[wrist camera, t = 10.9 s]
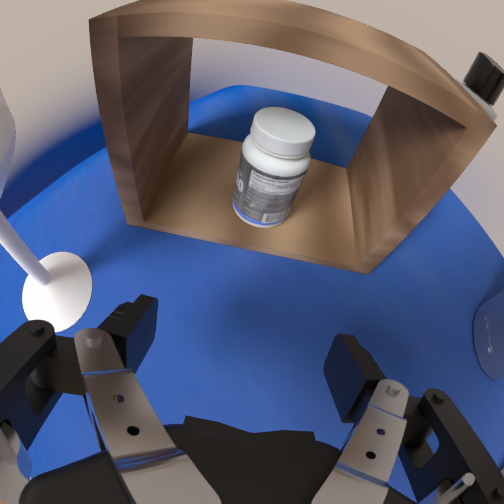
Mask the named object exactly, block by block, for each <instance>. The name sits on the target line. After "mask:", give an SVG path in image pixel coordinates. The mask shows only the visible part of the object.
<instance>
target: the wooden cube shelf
mask: <svg viewBox="0 0 504 504" xmlns="http://www.w3.org/2000/svg"><path fill="white" fill-rule="evenodd" d="M89 32H90V45H91V55H92V63H93V72H94V80H95V87H96V93H97V99H98V105H99V111H100V116H101V122H102V126H103V132H104V137H105V141H106V146H107V150H108V155H109V159H110V163H111V167H112V171H113V175H114V179H115V183H116V186H117V190H118V194H119V197H120V201H121V204H122V208H123V211H124V214H125V217H126V221H127V224H128V225H133V226H138V227H142V228H147V229H152V230H157V231H162V232H167V233H171V234H176V235H181V236H186V237H191V238H195V239H200V240H205V241H210V242H215V243H219V244H224V245H229V246H234V247H239V248H243V249H248V250H253V251H258V252H263V253H267V254H272V255H277V256H282V257H286V258H291V259H296V260H301V261H305V262H310V263H315V264H320V265H325V266H329V267H334V268H339V269H344V270H348V271H353V272H358V273H363V274H367V275H368V274H369V273H370V272H371V271H372V270H373V269H375V268H376V267H377V266H378V265H379V264H380V263H381V262H382V261H383V260H384V259H385V258H386V257H387V256H388V255H389V254H390V253H391V252H392V251H393V250H394V249H395V248H396V247H397V246H398V245H399V244H400V243H401V242H402V241H403V239H404V238H405V237H406V236H407V235H408V234H409V233H410V232H411V231H412V230H413V229H414V228H415V227H416V226H417V225H418V224H419V222H420V221H421V220H422V219H423V218H424V217H425V216H426V215H427V214H428V213H429V211H430V210H431V209H432V208H433V207H434V206H435V205H436V204H437V202H438V201H439V200H440V199H441V198H442V197H443V195H444V194H445V193H446V192H447V191H448V190H449V188H450V187H451V186H452V185H453V183H454V182H455V181H456V180H457V179H458V177H459V176H460V175H461V174H462V172H463V171H464V170H465V169H466V167H467V166H468V165H469V163H470V162H471V161H472V160H473V158H474V157H475V156H476V154H477V153H478V152H479V150H480V149H481V148H482V146H483V145H484V144H485V142H486V141H487V139H488V138H489V137H490V135H491V134H492V132H493V131H494V129H495V128H496V127H497V125H496V124H495V122H494V121H493V120H492V119H491V117H490V116H489V115H488V114H487V113H486V112H485V110H484V109H483V108H482V107H481V106H480V105H479V104H478V102H477V101H476V100H475V99H474V98H473V97H472V96H471V95H470V94H469V93H468V92H467V91H466V90H465V89H464V88H463V87H462V86H461V85H460V84H459V83H458V82H457V81H456V80H455V79H454V78H453V77H452V76H451V75H450V74H449V73H448V72H447V71H446V70H444V69H443V68H442V67H441V66H440V65H439V64H438V63H437V62H435V61H434V60H433V59H432V58H431V57H429V56H428V55H427V54H426V53H425V52H423V51H421V50H420V49H418V48H416V47H414V46H412V45H410V44H408V43H406V42H404V41H402V40H400V39H398V38H396V37H394V36H392V35H390V34H387V33H385V32H383V31H380V30H378V29H376V28H373V27H371V26H369V25H366V24H364V23H361V22H358V21H356V20H353V19H350V18H347V17H344V16H342V15H339V14H335V13H332V12H329V11H326V10H323V9H319V8H315V7H312V6H308V5H304V4H300V3H296V2H291V1H287V0H139V1H136V2H133V3H130V4H127V5H124V6H121V7H118V8H116V9H113V10H110V11H108V12H105V13H103V14H101V15H98V16H96V17H94V18H91V19H89ZM193 38H204V39H215V40H224V41H232V42H239V43H245V44H252V45H257V46H262V47H267V48H273V49H277V50H282V51H286V52H290V53H294V54H298V55H302V56H306V57H310V58H313V59H317V60H320V61H323V62H327V63H330V64H333V65H336V66H339V67H342V68H345V69H348V70H351V71H353V72H356V73H359V74H361V75H364V76H367V77H369V78H372V79H374V80H376V81H379V82H381V83H384V84H386V85H388V88H387V89H386V91H385V94H384V96H383V98H382V100H381V102H380V104H379V106H378V108H377V110H376V112H375V114H374V116H373V118H372V120H371V122H370V124H369V126H368V128H367V130H366V132H365V134H364V136H363V138H362V140H361V142H360V143H359V145H358V147H357V149H356V151H355V153H354V155H353V157H352V159H351V161H350V163H349V165H348V166H347V168H343V167H340V166H336V165H333V164H330V163H326V162H323V161H319V160H315V159H312V158H311V160H310V164H309V168H308V170H307V172H306V175H305V177H304V179H303V181H302V184H301V186H300V188H299V190H298V193H297V195H296V198H295V200H294V202H293V205H292V208H291V210H290V212H289V214H288V216H287V218H286V219H285V220H284V221H283V222H282V223H281V224H279V225H277V226H275V227H271V228H260V227H255V226H252V225H250V224H248V223H246V222H244V221H243V220H242V219H240V218H239V216H238V215H237V214H236V212H235V210H234V208H233V195H234V190H235V183H236V177H237V172H238V167H239V162H240V155H241V149H242V145H243V142H239V141H234V140H229V139H223V138H217V137H212V136H206V135H199V134H193V133H188V116H189V90H190V71H191V57H192V45H193Z"/></svg>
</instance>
